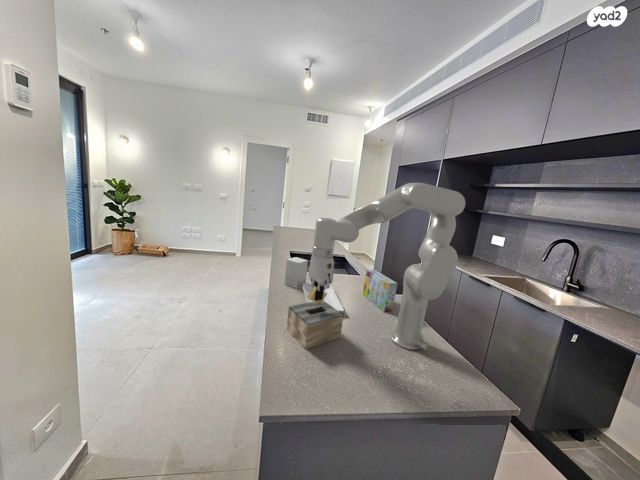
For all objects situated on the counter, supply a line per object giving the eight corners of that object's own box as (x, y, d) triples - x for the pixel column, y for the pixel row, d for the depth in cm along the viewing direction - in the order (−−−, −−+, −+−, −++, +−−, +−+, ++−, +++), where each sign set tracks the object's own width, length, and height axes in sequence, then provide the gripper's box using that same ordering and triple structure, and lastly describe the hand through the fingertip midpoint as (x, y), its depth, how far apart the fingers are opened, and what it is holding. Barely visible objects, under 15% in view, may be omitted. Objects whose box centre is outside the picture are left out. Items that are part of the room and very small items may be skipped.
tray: (330, 289, 151) (331, 284, 151) (344, 317, 121) (345, 310, 120) (301, 288, 148) (301, 282, 148) (307, 316, 118) (308, 309, 117)
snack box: (393, 311, 132) (398, 283, 129) (383, 312, 130) (388, 283, 127) (370, 294, 151) (374, 268, 148) (361, 294, 149) (365, 269, 146)
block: (327, 294, 102) (317, 287, 98) (320, 305, 101) (310, 299, 98) (323, 291, 104) (314, 285, 100) (316, 302, 103) (306, 297, 99)
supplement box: (306, 285, 153) (308, 260, 150) (296, 289, 146) (299, 263, 143) (293, 280, 158) (296, 256, 155) (283, 284, 150) (286, 259, 148)
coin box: (340, 338, 103) (343, 314, 101) (305, 349, 94) (308, 323, 92) (319, 321, 114) (322, 299, 112) (286, 329, 105) (288, 306, 103)
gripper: (344, 257, 93) (337, 305, 97) (318, 246, 106) (313, 289, 109) (327, 258, 89) (320, 309, 92) (302, 246, 101) (297, 291, 105)
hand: (316, 298), depth 101 cm, fingers closed on block, 1 cm apart
